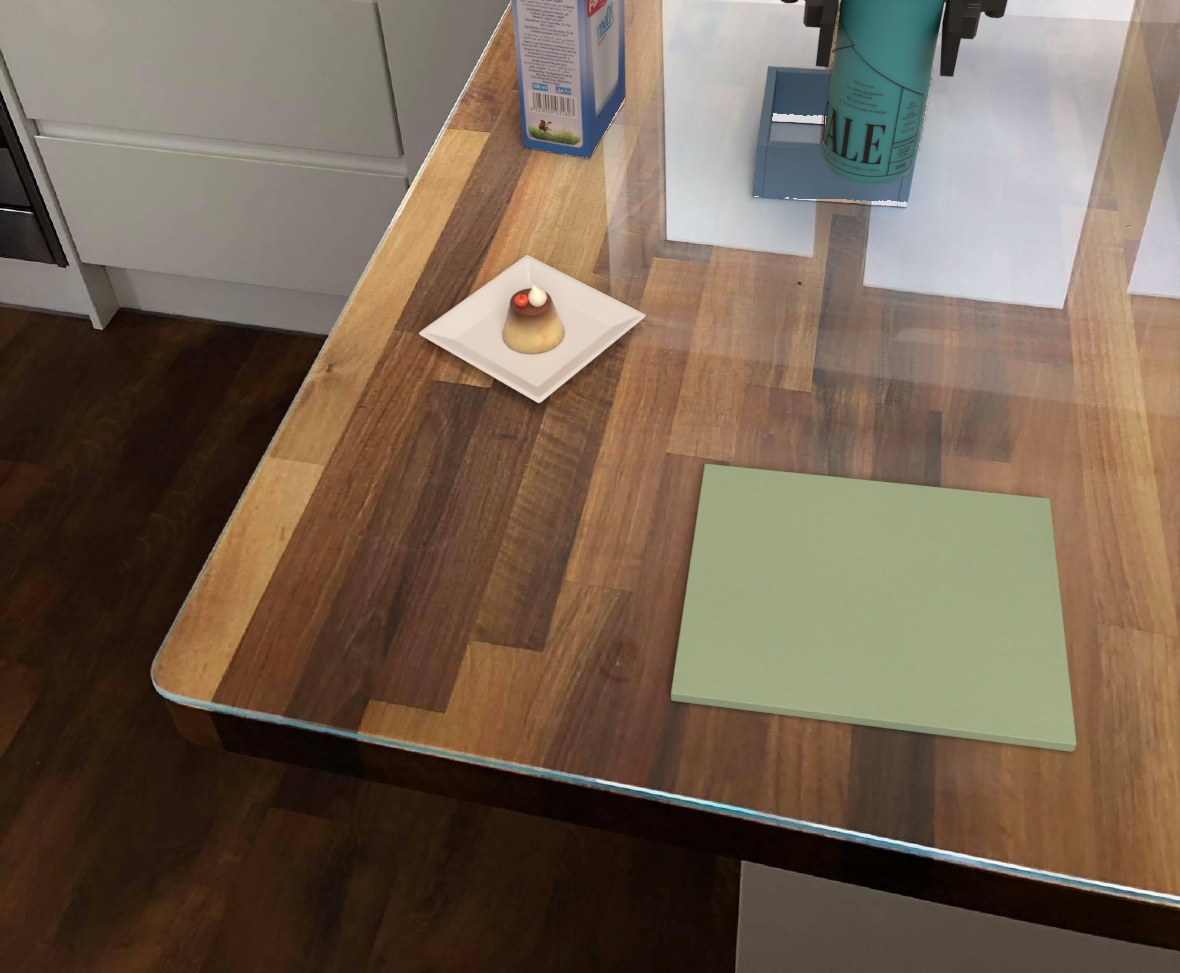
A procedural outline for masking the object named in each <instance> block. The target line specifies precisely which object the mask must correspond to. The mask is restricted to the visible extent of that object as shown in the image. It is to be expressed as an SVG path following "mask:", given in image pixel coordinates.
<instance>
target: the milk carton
mask: <svg viewBox="0 0 1180 973" xmlns="http://www.w3.org/2000/svg"><path fill="white" fill-rule="evenodd" d="M511 11H512V22H513V34H514V35H513V36H514V47H515V49H514V50H515V62H516V71H517V84H518V96H519V109H520V120H521V133H522V145H523V148H524V147H528V148H532V149H533V148H534V149H538V150H539V149H540V150H544V151H548V152H547V153H550V152H552V153H551V154H555V153H558V154H557V155H561V154H567V155H571V156H570V157H573V156H578V157H577V158H579V157H584V158H586V157H587V158H588V159H587V160H590V159H591V158H592V156H593V155H592V153H593V151H594V149H595V147H596V146H597V144H598V143H599V141H600V140H601V138H602V136H603V135H604V133H605V131H606V130H607V128H608V126H609V124H610V123H611V121H612V119H613V117H614V116H615V113H616V112H617V111H618V109H619V107H620V105H621V103H622V102H623V100H624V98H625V99H626V26H625V24H626V22H625V19H626V18H625V14H626V13H625V0H511ZM601 141H602V140H601ZM532 149H531V150H532ZM538 150H537V151H538ZM544 151H543V152H544ZM549 151H550V152H549ZM593 154H594V153H593ZM567 155H566V156H567ZM591 155H592V156H591ZM590 157H591V158H590ZM584 158H583V159H584Z"/></svg>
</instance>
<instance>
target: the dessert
mask: <svg viewBox="0 0 1180 973" xmlns="http://www.w3.org/2000/svg"><path fill="white" fill-rule="evenodd" d="M646 316H647V315H646V313H644V312H642V311H639V310H638V309H635V308H633V307H632V306H630V305H627V304H626V303H624V302H622V301H620V300H618V299H616V298H614V297H612V296H610V295H608V294H606V293H604V292H602V291H600V290H598V289H596V288H594V287H592V286H590V285H588V284H586V283H584V282H583V281H580V280H578V279H576V278H574V277H572V276H570V275H568V274H566V273H565V272H562V271H561V270H558V269H556V268H555V267H554V266H553V267H552V266H550V265H548V264H547V263H545V262H544V261H543V262H542V261H541V260H539V259H537V258H535V257H533V256H531V255H528V254H525V255H524V256H522V257H521V258H520V259H518V260H517V261H516V262H515V263H513V264H511V265H510V266H509V267H507V268H506V269H505V270H504V271H502V272H500V273H499V274H498V275H496V276H495V277H493V278H492V279H491V280H490V281H488V282H487V283H485V284H484V285H483V286H481V287H480V288H478V289H477V290H476V291H474V292H473V293H471V294H470V295H469V296H467V297H466V298H465V299H463V300H462V301H461V302H459V303H457V304H456V305H455V306H454V307H452V308H450V310H448V311H446V312H445V313H444V314H442V315H441V316H439V317H438V318H437V319H436V320H434V321H432V323H430V324H428V325H427V326H425V327H424V328H423V329H421V330H420V331H419V332H418V335H419V336H421V337H423V338H425V339H427V341H430V342H432V343H433V344H435V345H437V346H439V347H440V348H442V349H444V350H446V351H447V352H449V353H451V354H452V355H454V356H456V357H458V358H459V359H461V360H463V361H464V362H466V363H468V364H469V365H471V366H473V367H475V368H476V369H478V370H480V371H481V372H483V373H485V374H487V375H489V376H490V377H491V378H494V379H496V380H497V381H499V382H501V383H502V384H504V385H506V386H508V387H510V389H513V390H515V391H516V392H518V393H520V394H522V395H524V396H525V397H527V398H528V399H530V400H533V401H534V402H536V403H538V404H540V403H542V402H544V400H545V399H547V398H548V397H550V396H551V395H552V394H553V393H554V392H555V391H557V390H558V389H559V388H560V387H562V386H563V385H564V384H565V383H566V382H568V381H569V380H570V379H572V377H574V376H575V375H576V374H578V373H579V372H580V371H581V370H582V369H583V368H585V367H586V366H587V365H588V364H589V363H591V362H592V361H593V360H594V359H596V358H597V357H598V356H599V355H601V354H602V353H603V352H604V351H605V350H607V349H608V348H609V347H610V346H612V345H613V344H614V343H615V342H617V341H618V340H619V339H621V337H623V336H624V335H625V334H627V332H629V331H630V330H631V329H633V328H634V327H635V326H636V325H637V324H638V323H640V322H641V321H643V319H644V318H646Z"/></svg>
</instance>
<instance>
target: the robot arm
mask: <svg viewBox="0 0 1180 973" xmlns="http://www.w3.org/2000/svg"><path fill="white" fill-rule="evenodd" d="M780 1H781V3H784V4H796V3H798V2H799V1H800V0H780ZM803 1H804V11H803V19H802V21H803V25H804V27H805V28H817V29H819V32H818V39H817V40H818V41H817V50H816V59H815V67H820V68H829V66H830V60H831V54H832V49H833V48H832V47H833V43H834V37H835V36H834V33H835V31H836V27H835V24H837V23H836V21H837V18H836V16H837V15H838V12H837V10H839V8H838V4H839V3H840V0H803ZM1008 1H1009V0H945V3H944V9H943V14H942V20H941V39H940V40H941V41H940V63H939V65H940V66H939V76H940V77H950V78H953V77H954V75H955V70H956V65H957V60H958V55H959V51H960V45H961V41H962V40H974V38H975V37H976V36H977V33H978V28H979V24H980V19H981V14H982V13H984V15H985V16H986V17H988V18H991V19H1000V18H1003V17H1004V16H1005V13H1006V9H1007V5H1008ZM837 8H838V9H837Z"/></svg>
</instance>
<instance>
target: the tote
mask: <svg viewBox="0 0 1180 973" xmlns="http://www.w3.org/2000/svg"><path fill="white" fill-rule="evenodd" d="M830 71H831V72H830ZM829 73H830V74H831V76H830V75H829ZM829 77H830V78H829ZM831 77H832V69H827V68H825V69H824V68H808V67H807V68H806V67H790V66H777V65H776V66H775V65H774V66H772V65H768V66H767V72H766V79H765V86H764V93H763V100H762V106H761V114H760V120H759V126H758V135H757V142H756V152H755V162H754V163H755V164H754V178H753V179H754V180H753V189H752V197H753V196H759V197H762V198H763V197H769V198H768V199H773V198H782V199H781V200H784V199H783V198H786V197H789V199H793V198H797V199H847V200H852V199H853V200H854V201H856V200H860V201H862V200H866V201H879V200H880V201H882V200H883V201H887V200H891V201H897V202H898V201H899V202H904V201H905V202H908V203H909V198H910V193H911V188H912V187H911V186H912V183H913V177H914V173H915V167H916V162H917V161H915V163H914V165H913V167H912V169H911V170H910V172H909V173H908V174H907V175H905V176H904V177H903V178H901V179H899V180H896V181H893V182H890V183H885V184H861V183H855V182H851V181H848V180H846V179H843V178H841V177H839V176H837V175H836V174H834V173H833V172H832V171H831V170H830V169H829V168H828V167H827V166H826V164H825V162H824V158H823V154H822V153H823V148H822V147H823V143H815V142H798V141H786V140H785V141H783V140H771V135H770V133H772V128H771V125H772V126H773V121H772V117H773V113H777V114H787V115H789V114H794V115H803V116H807V115H810V116H813V115H817V116H818V115H823V116H824V113H825V112H826V113H825V115H826V116H827V108H826V106H825V105H827V100H828V101H829V98H828V97H829V93H830V85H831ZM829 79H830V80H829ZM828 82H829V87H828ZM827 91H828V92H827ZM826 97H827V98H826ZM827 106H828V105H827ZM825 109H826V111H825ZM820 145H821V146H820ZM821 151H822V152H821Z"/></svg>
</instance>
